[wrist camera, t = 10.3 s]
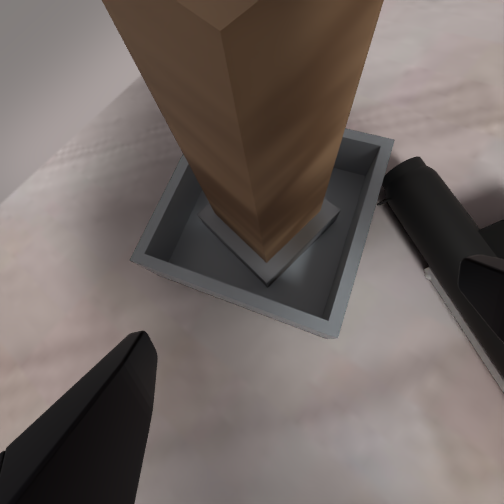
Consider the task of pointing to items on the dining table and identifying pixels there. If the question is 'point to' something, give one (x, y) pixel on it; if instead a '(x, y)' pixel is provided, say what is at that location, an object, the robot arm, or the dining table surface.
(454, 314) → the door handle
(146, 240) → the tray
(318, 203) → the wooden post on base
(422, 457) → the dining table surface
